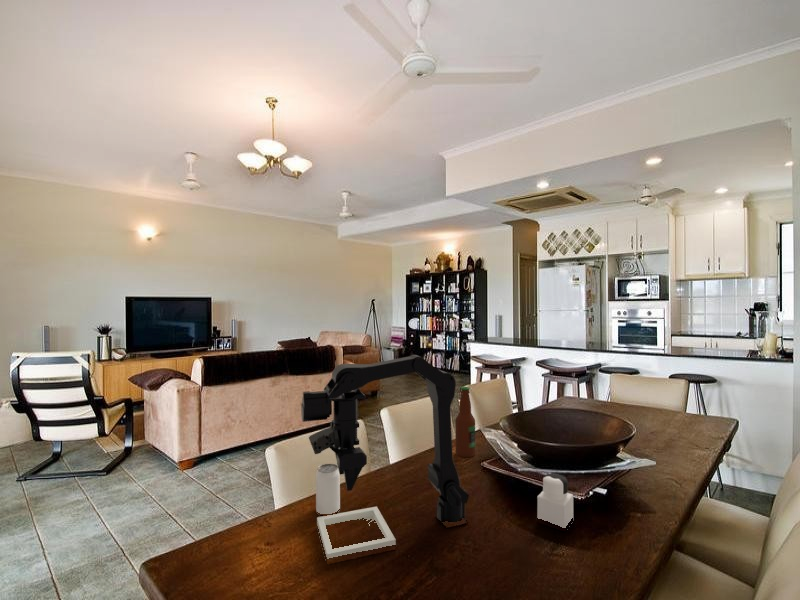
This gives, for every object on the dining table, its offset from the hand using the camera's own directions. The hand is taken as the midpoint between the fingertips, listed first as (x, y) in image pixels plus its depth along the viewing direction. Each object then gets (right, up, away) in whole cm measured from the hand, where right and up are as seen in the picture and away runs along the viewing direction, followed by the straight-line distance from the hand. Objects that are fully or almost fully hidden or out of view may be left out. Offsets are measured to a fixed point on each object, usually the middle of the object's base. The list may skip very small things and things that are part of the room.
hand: (345, 481), depth 99 cm
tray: (+2, -15, +2) cm, 15 cm away
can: (-7, -15, +15) cm, 22 cm away
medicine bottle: (+54, -14, +8) cm, 56 cm away
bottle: (+38, -14, +54) cm, 68 cm away
